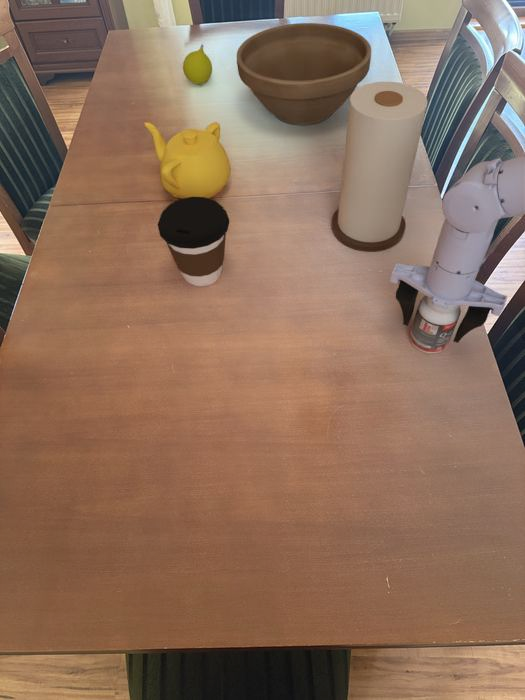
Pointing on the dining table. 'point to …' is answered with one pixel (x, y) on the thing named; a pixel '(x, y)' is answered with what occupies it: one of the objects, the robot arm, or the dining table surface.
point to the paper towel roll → (378, 164)
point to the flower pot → (303, 69)
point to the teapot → (192, 162)
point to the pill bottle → (433, 326)
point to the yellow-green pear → (197, 67)
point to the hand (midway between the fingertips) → (432, 328)
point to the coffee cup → (196, 238)
